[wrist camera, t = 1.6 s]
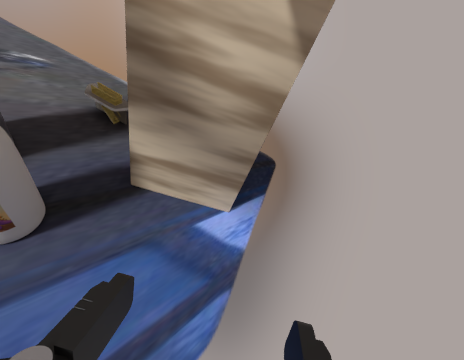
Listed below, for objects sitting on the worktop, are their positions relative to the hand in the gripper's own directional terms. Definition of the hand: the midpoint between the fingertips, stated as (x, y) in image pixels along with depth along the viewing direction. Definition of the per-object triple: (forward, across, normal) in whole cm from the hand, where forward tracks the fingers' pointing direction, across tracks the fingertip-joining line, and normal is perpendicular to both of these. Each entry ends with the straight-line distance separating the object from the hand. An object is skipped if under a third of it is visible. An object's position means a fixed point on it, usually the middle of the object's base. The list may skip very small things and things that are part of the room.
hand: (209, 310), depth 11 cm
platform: (+36, +31, -1) cm, 48 cm away
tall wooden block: (+30, +10, +5) cm, 32 cm away
